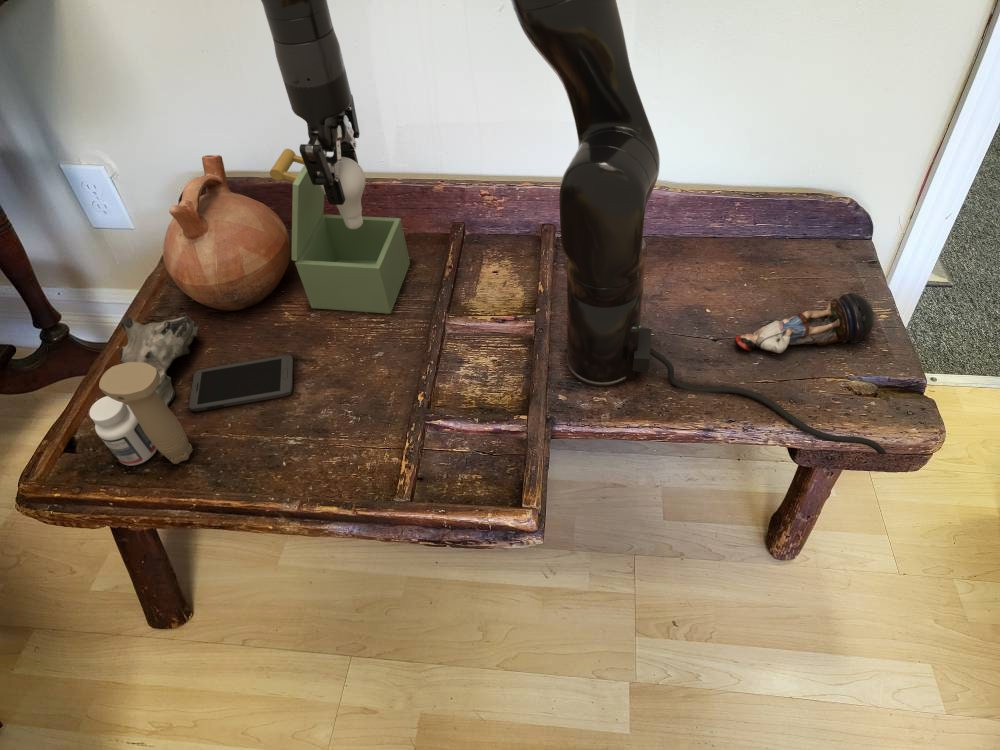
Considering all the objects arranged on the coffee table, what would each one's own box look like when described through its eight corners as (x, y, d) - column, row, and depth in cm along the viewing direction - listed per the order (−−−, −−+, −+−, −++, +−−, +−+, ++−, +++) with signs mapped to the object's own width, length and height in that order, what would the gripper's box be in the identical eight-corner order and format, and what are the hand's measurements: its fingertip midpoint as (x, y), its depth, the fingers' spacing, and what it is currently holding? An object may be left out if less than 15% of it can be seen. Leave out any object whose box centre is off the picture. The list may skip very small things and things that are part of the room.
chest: (410, 263, 116) (400, 218, 110) (390, 313, 109) (379, 268, 102) (335, 259, 118) (321, 214, 112) (311, 308, 111) (294, 263, 104)
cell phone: (293, 395, 99) (291, 392, 99) (189, 413, 98) (187, 409, 98) (294, 356, 104) (292, 353, 103) (195, 373, 103) (193, 370, 103)
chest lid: (327, 137, 101) (291, 125, 101) (298, 185, 94) (259, 173, 93) (323, 212, 111) (290, 202, 111) (296, 261, 104) (261, 251, 104)
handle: (196, 471, 92) (144, 395, 81) (149, 468, 93) (91, 392, 82) (211, 441, 95) (163, 363, 84) (165, 438, 96) (112, 360, 85)
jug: (276, 330, 108) (229, 220, 93) (165, 323, 111) (102, 215, 96) (316, 251, 120) (280, 141, 105) (214, 246, 123) (165, 139, 108)
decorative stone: (185, 407, 98) (136, 357, 91) (129, 419, 100) (78, 370, 94) (221, 327, 109) (180, 276, 102) (170, 339, 111) (127, 290, 105)
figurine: (886, 308, 91) (738, 327, 94) (881, 353, 95) (738, 369, 98) (865, 280, 98) (726, 298, 100) (860, 323, 101) (727, 340, 104)
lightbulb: (378, 213, 107) (362, 146, 99) (374, 239, 103) (357, 171, 95) (336, 216, 107) (317, 149, 99) (331, 242, 103) (311, 175, 95)
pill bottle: (145, 427, 97) (114, 384, 91) (167, 446, 95) (137, 403, 88) (110, 453, 95) (75, 410, 88) (131, 473, 93) (97, 431, 86)
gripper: (322, 100, 82) (355, 222, 95) (360, 42, 92) (385, 160, 104) (261, 98, 84) (301, 219, 96) (304, 42, 93) (336, 158, 105)
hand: (345, 188), depth 100 cm, fingers closed on lightbulb, 6 cm apart
